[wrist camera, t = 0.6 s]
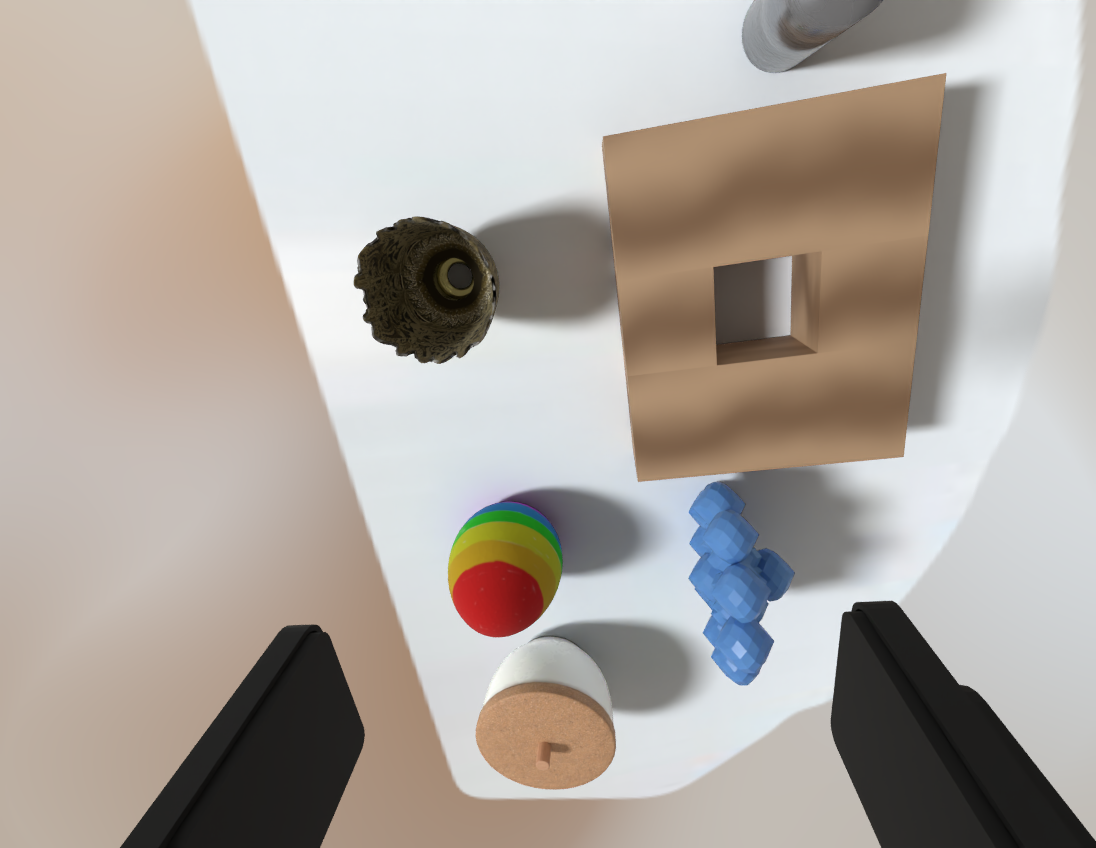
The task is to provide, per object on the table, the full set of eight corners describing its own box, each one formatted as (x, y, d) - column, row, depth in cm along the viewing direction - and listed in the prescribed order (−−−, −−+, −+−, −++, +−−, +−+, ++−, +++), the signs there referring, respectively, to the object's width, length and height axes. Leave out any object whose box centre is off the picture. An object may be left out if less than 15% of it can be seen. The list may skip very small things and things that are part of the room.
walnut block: (602, 146, 30) (603, 136, 26) (895, 92, 28) (946, 73, 24) (633, 451, 38) (638, 481, 34) (867, 427, 36) (903, 456, 32)
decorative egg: (445, 509, 41) (401, 595, 32) (535, 471, 39) (517, 552, 30) (494, 585, 44) (467, 686, 35) (582, 553, 42) (578, 651, 33)
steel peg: (741, -10, 27) (795, -90, 20) (821, -27, 27) (908, -116, 19) (742, 79, 29) (793, 35, 21) (818, 64, 28) (898, 14, 21)
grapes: (765, 584, 41) (827, 721, 30) (679, 589, 42) (708, 724, 31) (768, 453, 37) (842, 557, 26) (672, 461, 38) (703, 565, 27)
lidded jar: (476, 627, 46) (448, 725, 37) (593, 604, 44) (592, 703, 35) (516, 712, 49) (499, 819, 41) (626, 695, 47) (633, 804, 39)
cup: (396, 217, 33) (339, 220, 26) (511, 211, 32) (487, 213, 25) (413, 333, 36) (366, 366, 28) (519, 330, 35) (499, 363, 28)
